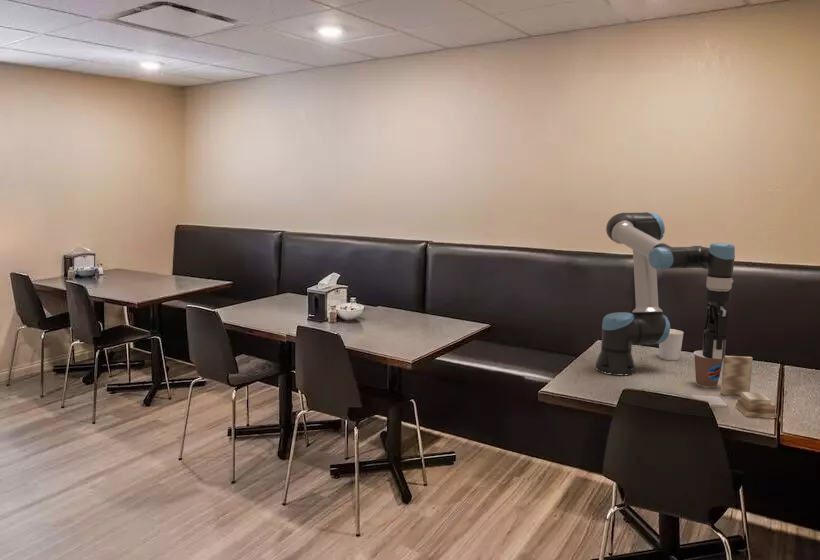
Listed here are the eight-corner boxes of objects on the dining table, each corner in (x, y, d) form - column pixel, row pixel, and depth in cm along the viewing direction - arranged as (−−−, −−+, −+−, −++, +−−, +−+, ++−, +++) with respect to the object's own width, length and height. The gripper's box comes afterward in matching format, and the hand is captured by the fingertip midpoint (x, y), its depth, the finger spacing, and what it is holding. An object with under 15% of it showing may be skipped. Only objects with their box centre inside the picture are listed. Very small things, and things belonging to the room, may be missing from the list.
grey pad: (699, 406, 197) (699, 403, 197) (691, 397, 206) (691, 394, 206) (727, 407, 196) (727, 405, 195) (718, 398, 204) (718, 396, 204)
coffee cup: (708, 390, 213) (711, 359, 211) (685, 382, 222) (687, 352, 220) (728, 387, 217) (730, 356, 215) (704, 379, 226) (706, 349, 224)
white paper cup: (685, 361, 250) (687, 334, 248) (662, 361, 250) (664, 334, 249) (675, 354, 260) (677, 328, 258) (653, 354, 260) (655, 328, 258)
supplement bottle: (718, 354, 202) (721, 320, 200) (728, 359, 195) (731, 325, 193) (698, 353, 202) (701, 320, 200) (707, 359, 195) (710, 324, 193)
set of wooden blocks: (746, 416, 188) (750, 375, 186) (720, 392, 210) (723, 355, 208) (776, 418, 186) (780, 376, 184) (747, 394, 209) (750, 356, 207)
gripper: (742, 294, 185) (736, 364, 188) (720, 285, 204) (714, 348, 207) (717, 294, 186) (711, 363, 189) (697, 284, 205) (692, 347, 209)
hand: (713, 355), depth 198 cm, fingers closed on supplement bottle, 7 cm apart
